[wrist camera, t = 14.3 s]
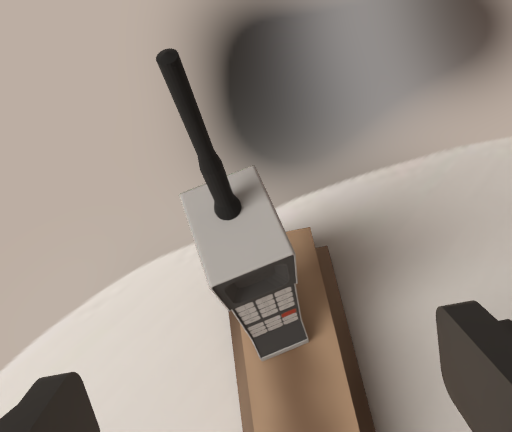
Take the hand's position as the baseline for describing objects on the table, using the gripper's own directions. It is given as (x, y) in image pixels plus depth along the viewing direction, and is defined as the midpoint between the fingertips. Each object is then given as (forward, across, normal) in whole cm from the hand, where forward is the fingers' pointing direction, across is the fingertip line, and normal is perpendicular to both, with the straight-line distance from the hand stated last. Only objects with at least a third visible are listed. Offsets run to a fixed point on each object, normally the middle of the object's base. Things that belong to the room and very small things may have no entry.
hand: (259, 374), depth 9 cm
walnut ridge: (+23, 0, +17) cm, 29 cm away
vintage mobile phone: (+21, +1, +11) cm, 24 cm away
